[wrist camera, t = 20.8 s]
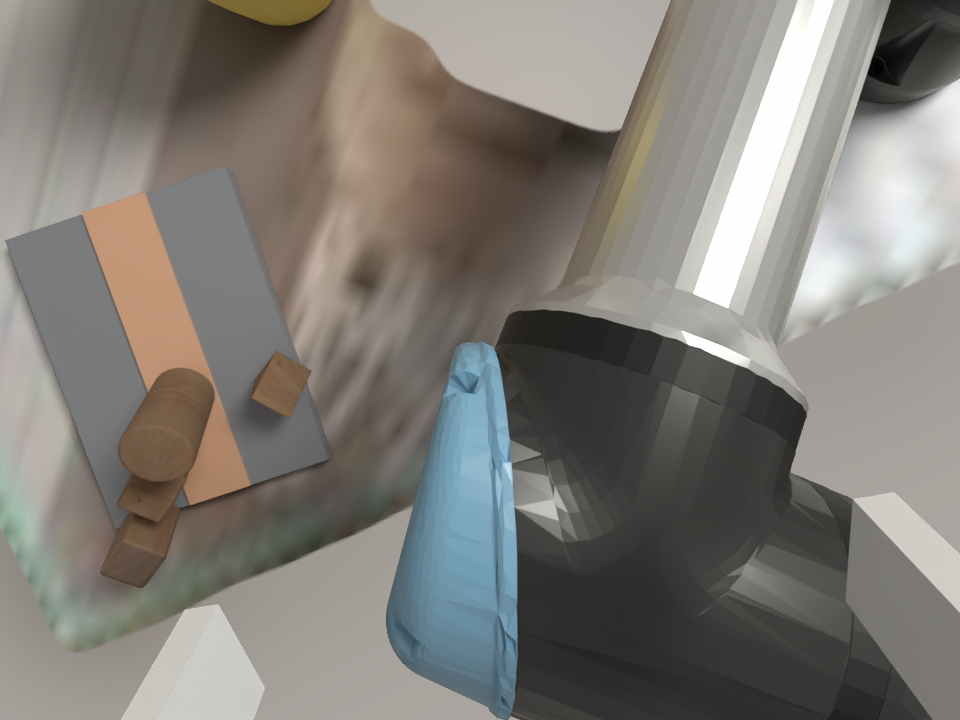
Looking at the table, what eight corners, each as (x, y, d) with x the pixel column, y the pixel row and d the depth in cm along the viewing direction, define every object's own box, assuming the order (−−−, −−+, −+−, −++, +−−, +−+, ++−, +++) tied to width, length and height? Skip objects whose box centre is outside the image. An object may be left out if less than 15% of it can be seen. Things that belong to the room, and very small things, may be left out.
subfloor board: (232, 170, 44) (223, 165, 43) (332, 456, 46) (327, 460, 44) (17, 242, 45) (1, 239, 43) (124, 524, 46) (112, 530, 45)
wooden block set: (186, 533, 47) (160, 626, 38) (77, 490, 43) (19, 581, 34) (310, 363, 45) (315, 417, 36) (209, 303, 42) (185, 346, 32)
